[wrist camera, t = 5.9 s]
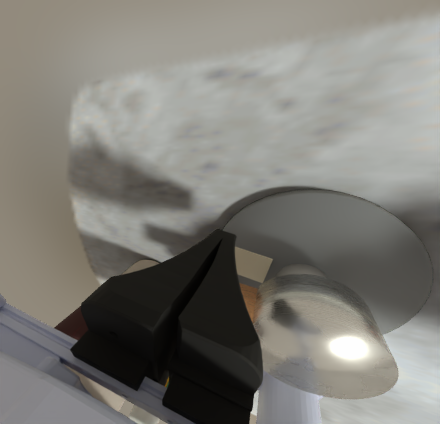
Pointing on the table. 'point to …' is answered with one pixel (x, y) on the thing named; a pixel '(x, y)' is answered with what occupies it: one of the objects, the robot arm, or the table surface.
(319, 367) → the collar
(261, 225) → the post plate
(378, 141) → the table surface
